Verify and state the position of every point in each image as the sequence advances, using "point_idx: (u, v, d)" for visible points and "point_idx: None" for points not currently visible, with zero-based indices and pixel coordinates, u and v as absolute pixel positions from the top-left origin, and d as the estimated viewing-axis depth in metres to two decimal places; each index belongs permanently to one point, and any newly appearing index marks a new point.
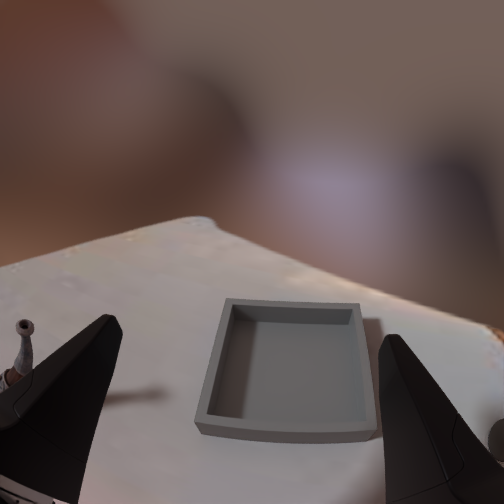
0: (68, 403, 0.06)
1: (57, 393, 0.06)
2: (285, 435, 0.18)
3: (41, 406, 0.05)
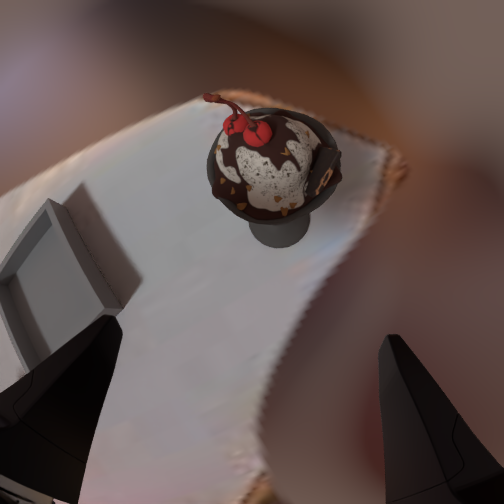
0: (68, 403, 0.06)
1: (57, 393, 0.06)
2: None
3: (41, 406, 0.05)
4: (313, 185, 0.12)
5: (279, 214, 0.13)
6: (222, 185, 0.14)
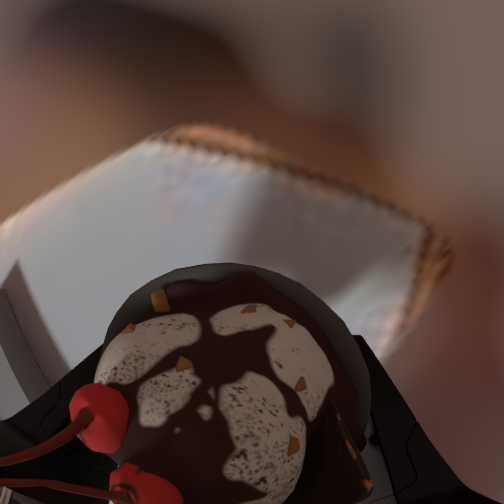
0: None
1: None
2: None
3: None
4: None
5: None
6: None
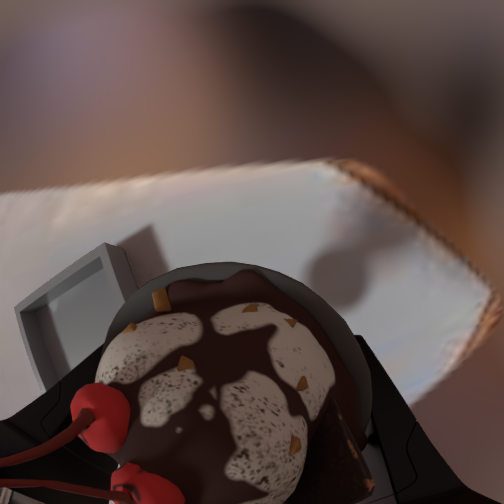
0: None
1: None
2: None
3: (72, 421, 0.05)
4: None
5: None
6: None
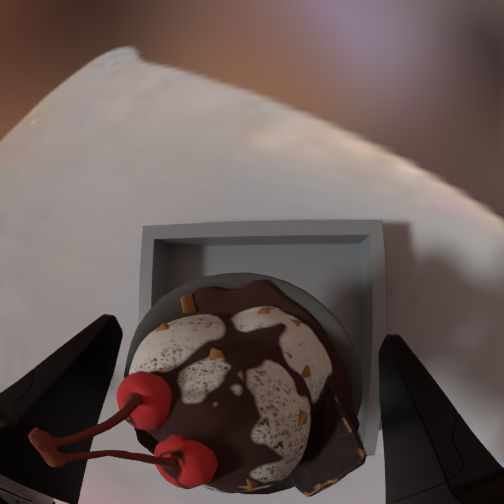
0: (68, 403, 0.06)
1: (57, 393, 0.06)
2: None
3: (41, 406, 0.05)
4: (302, 478, 0.05)
5: None
6: (151, 436, 0.07)
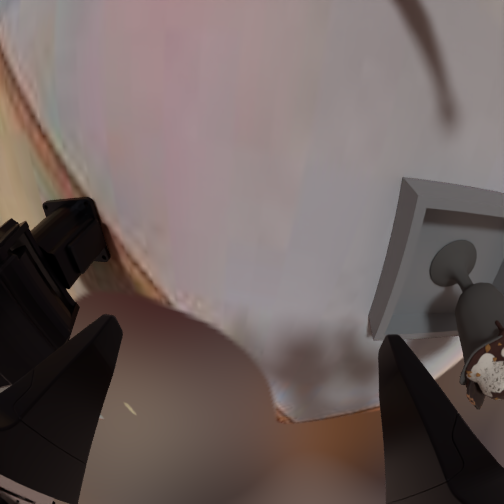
0: (68, 403, 0.06)
1: (57, 393, 0.06)
2: (392, 273, 0.20)
3: (41, 406, 0.05)
4: (472, 390, 0.13)
5: (469, 369, 0.13)
6: None
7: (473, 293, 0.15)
